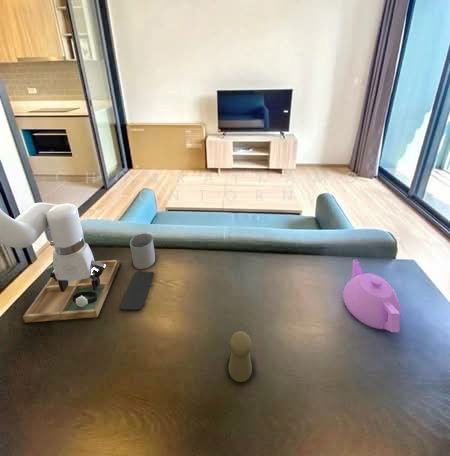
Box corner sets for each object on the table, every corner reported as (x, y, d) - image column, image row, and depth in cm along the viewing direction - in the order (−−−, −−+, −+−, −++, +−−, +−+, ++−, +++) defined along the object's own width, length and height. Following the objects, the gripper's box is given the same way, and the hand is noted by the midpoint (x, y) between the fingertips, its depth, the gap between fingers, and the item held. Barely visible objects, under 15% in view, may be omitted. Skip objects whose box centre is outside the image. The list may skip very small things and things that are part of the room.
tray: (25, 322, 76) (22, 316, 75) (62, 268, 96) (60, 263, 95) (97, 317, 77) (96, 311, 76) (119, 264, 97) (118, 259, 96)
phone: (118, 308, 79) (135, 271, 93) (118, 310, 79) (135, 272, 93) (141, 309, 79) (154, 271, 93) (141, 311, 79) (155, 273, 93)
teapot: (419, 343, 69) (431, 312, 65) (365, 347, 68) (374, 316, 64) (371, 279, 90) (378, 252, 86) (329, 281, 89) (334, 254, 85)
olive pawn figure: (239, 350, 68) (239, 321, 64) (256, 368, 64) (258, 339, 60) (223, 367, 64) (223, 338, 60) (241, 388, 60) (241, 358, 56)
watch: (70, 306, 80) (67, 298, 78) (78, 294, 84) (76, 286, 83) (93, 307, 79) (91, 299, 78) (101, 295, 84) (99, 287, 82)
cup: (146, 250, 105) (143, 230, 101) (159, 258, 100) (157, 238, 96) (129, 262, 98) (125, 242, 95) (142, 272, 94) (138, 251, 90)
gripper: (31, 254, 70) (45, 299, 75) (95, 251, 71) (104, 296, 77) (46, 236, 77) (59, 279, 82) (105, 234, 78) (112, 276, 84)
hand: (80, 287), depth 80 cm, fingers open, 9 cm apart
